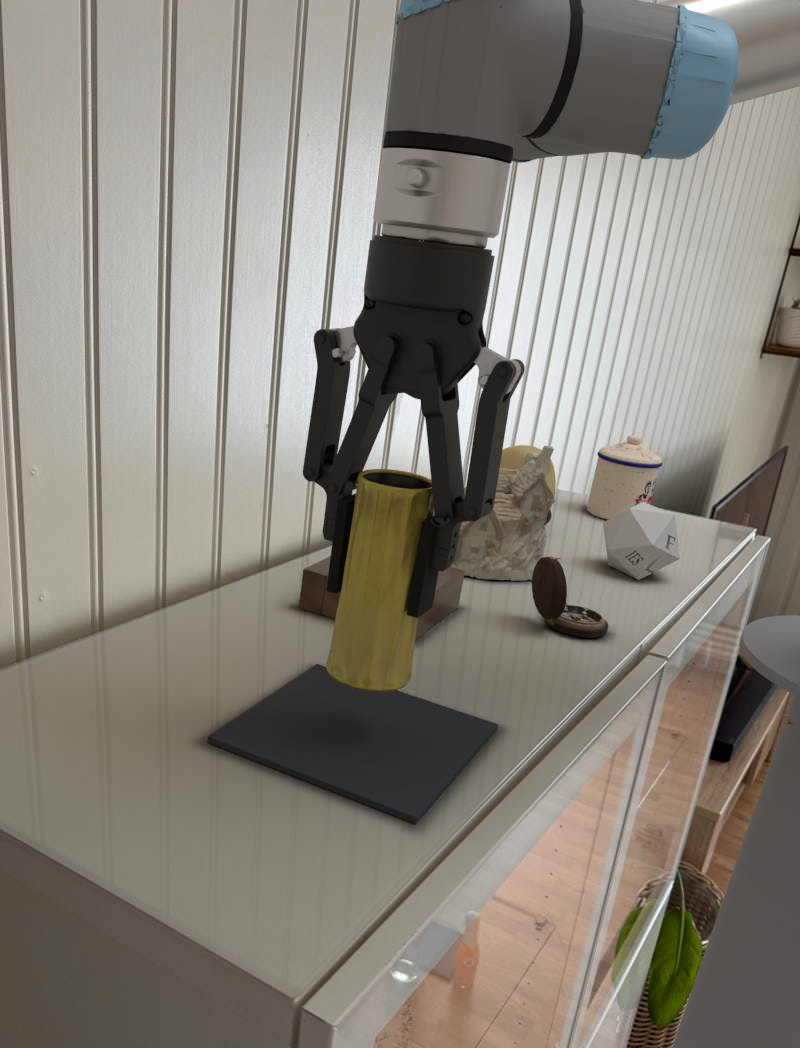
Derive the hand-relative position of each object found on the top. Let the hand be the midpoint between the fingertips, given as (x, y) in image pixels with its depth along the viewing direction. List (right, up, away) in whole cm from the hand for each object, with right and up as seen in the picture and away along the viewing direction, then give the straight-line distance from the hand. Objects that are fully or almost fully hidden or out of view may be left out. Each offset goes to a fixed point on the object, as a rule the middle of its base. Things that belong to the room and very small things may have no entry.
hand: (379, 598), depth 66 cm
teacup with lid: (+40, +16, +76) cm, 88 cm away
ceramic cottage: (+15, +7, +48) cm, 51 cm away
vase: (-1, -5, +2) cm, 6 cm away
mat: (-1, -10, +4) cm, 11 cm away
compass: (+21, -1, +31) cm, 37 cm away
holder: (+2, 0, +29) cm, 29 cm away
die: (+34, +5, +50) cm, 61 cm away
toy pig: (+22, +13, +65) cm, 70 cm away
